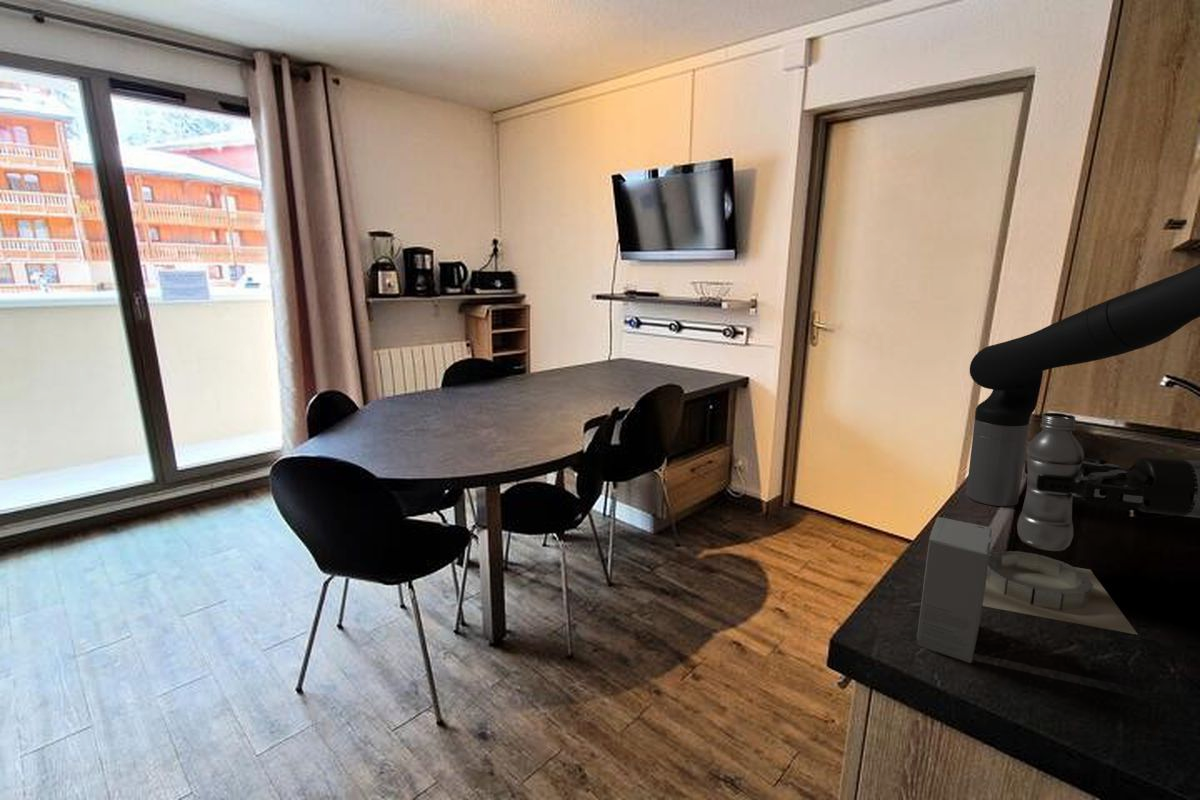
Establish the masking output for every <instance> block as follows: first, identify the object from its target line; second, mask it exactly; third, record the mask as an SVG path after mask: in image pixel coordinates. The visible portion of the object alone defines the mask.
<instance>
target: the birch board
mask: <svg viewBox="0 0 1200 800" xmlns="http://www.w3.org/2000/svg"><path fill="white" fill-rule="evenodd" d="M991 554H992V553H991ZM991 554H990V553H989V556H990V555H991ZM1073 567H1074V568H1076V569H1078V570H1080V571H1082V572H1083V573H1085V574H1086V575H1087V576H1088V578H1089V579H1090V580H1091V582H1092V583H1093V590H1092V596H1091V601H1090V602H1089V603H1088V604H1087V605H1086V606H1085V607H1084V608H1082V609H1072V610H1061V609H1060V610H1056V609H1050V608H1045V607H1039V606H1034V605H1033V604H1031V605H1030V604H1027V603H1025V602H1022V601H1019V600H1017V599H1014V598H1012V597H1009V596H1006V594H1003V593H1001V592H1000V591H998V590H997V589H996V588H994V587H993V586H991V585H990V584H989V583H988V582H987V580H986V587H985V593H984V600H983V606H982V607H986V608H991V609H996V610H997V609H998V610H1001V611H1002V610H1003V611H1006V612H1007V611H1008V612H1013V613H1018V614H1023V615H1028V616H1033V617H1034V616H1035V617H1039V618H1040V617H1041V618H1043V619H1044V618H1045V619H1050V620H1056V621H1060V622H1061V621H1062V622H1067V623H1072V624H1078V625H1082V626H1088V627H1094V628H1099V629H1103V630H1104V629H1105V630H1109V631H1116V632H1119V633H1120V632H1121V633H1126V634H1132V635H1135V636H1137V635H1138V633H1137V631H1136V630H1135V628H1134V627H1133V626H1132V624H1131V623H1130V622H1129V620H1128V619H1127V618H1126V616H1125V615H1124V613H1123V612H1122V611H1121V610H1120V608H1119V606H1118V605H1117V604H1116V603H1115V601H1114V600H1113V598H1112V597H1111V596H1110V594H1109V593H1108V591H1106V589H1105V588H1104V587H1103V585H1102V584H1101V582H1100V581H1099V580H1098V579H1097V577H1096V576H1095V574H1094V572H1092V570H1091V569H1089V568H1081V567H1075V566H1073ZM1001 571H1003V572H1005V573H1006V574H1008V575H1009V576H1011V577H1012V578H1015V579H1017V580H1020V581H1023V582H1026V583H1029V584H1031V585H1034V586H1040V587H1046V588H1052V589H1072V587H1070V586H1069V585H1067V584H1065V583H1064V582H1062V581H1060V580H1059V579H1056V578H1053V577H1050V576H1047V575H1044V574H1041V573H1038V572H1033V571H1027V570H1021V569H1007V570H1001ZM1138 636H1139V635H1138Z"/></svg>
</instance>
